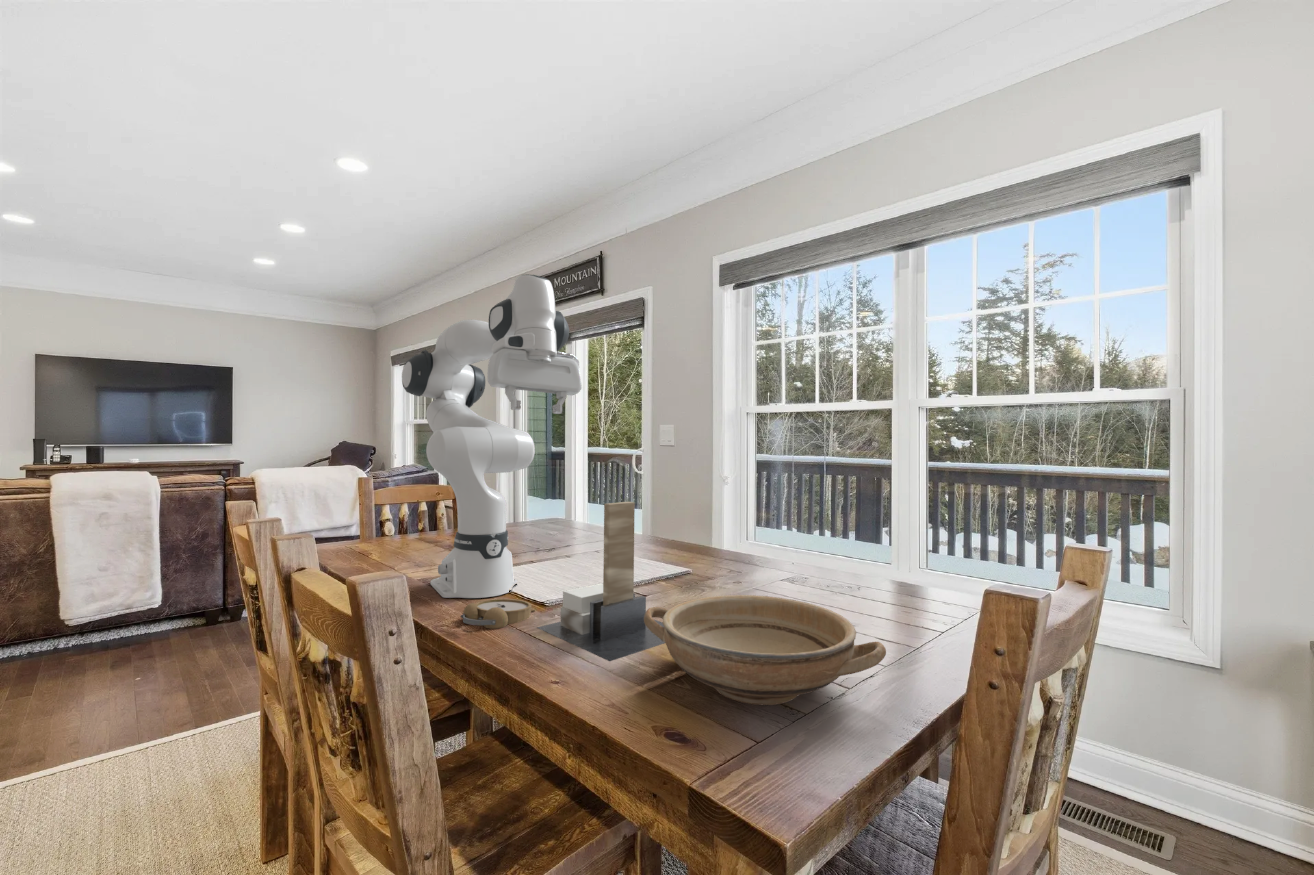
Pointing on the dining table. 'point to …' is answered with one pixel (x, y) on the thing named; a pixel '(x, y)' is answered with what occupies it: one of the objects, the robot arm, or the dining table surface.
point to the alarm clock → (496, 612)
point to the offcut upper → (582, 597)
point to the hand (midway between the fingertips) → (537, 411)
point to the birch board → (618, 552)
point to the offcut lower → (575, 621)
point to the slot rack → (612, 629)
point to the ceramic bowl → (761, 645)
